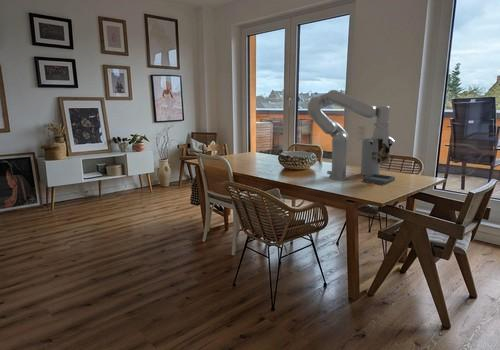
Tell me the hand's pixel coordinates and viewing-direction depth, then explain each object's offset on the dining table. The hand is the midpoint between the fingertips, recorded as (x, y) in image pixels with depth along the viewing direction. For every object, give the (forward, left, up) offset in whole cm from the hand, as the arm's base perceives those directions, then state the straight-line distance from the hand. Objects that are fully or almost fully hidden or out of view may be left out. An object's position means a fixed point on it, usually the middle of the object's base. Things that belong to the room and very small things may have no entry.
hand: (380, 152), depth 224 cm
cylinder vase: (-13, +14, -19) cm, 27 cm away
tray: (0, 0, -19) cm, 19 cm away
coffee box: (0, 0, -7) cm, 7 cm away
